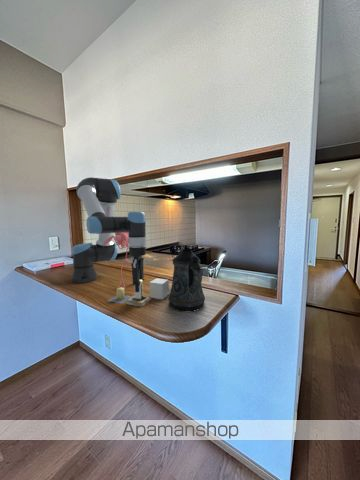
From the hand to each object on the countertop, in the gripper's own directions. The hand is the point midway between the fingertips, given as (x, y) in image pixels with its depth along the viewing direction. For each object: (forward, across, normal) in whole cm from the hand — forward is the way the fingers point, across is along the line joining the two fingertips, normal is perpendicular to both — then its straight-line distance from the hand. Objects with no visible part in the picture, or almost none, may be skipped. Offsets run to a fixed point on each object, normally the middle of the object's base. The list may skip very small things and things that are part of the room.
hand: (139, 296), depth 93 cm
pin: (+2, 0, 0) cm, 2 cm away
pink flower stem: (+3, -24, -14) cm, 28 cm away
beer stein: (+3, +2, +23) cm, 24 cm away
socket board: (+3, 0, 0) cm, 3 cm away
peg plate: (+3, -4, -10) cm, 11 cm away
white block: (+3, -8, +9) cm, 12 cm away
